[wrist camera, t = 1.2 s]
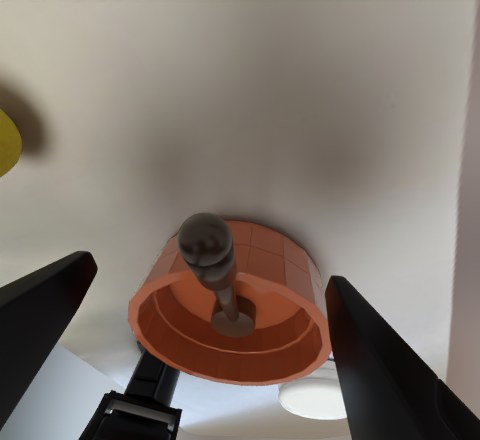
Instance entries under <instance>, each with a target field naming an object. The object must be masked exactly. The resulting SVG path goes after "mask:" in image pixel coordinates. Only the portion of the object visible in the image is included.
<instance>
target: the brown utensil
mask: <svg viewBox="0 0 480 440" xmlns="http://www.w3.org/2000/svg"><path fill="white" fill-rule="evenodd" d="M177 245H178V249H179V252H180V254H181V255H182V257H183V258H184V260H185V261H186V263H187V264H188V266H189V267H190V269H191V270H192V272H193V273H194V275H195V276H196V278H197V279H198V281H199V282H200V284H201V285H202V286H203V287H204V288H206V289H208V290H210V291H213V293H214V295H215V297H216V298H217V300H216V302H215V304H214V308H213V312H212V316H211V320H210V322H211V325H212V327H213V328H214V329H215V330H216V331H217V332H219V333H220V334H223V335H225V336H229V337H245V336H248V335H250V334H252V333H253V332H254V330H255V327H256V307H255V305H254V304H253V303H252V302H251V301H250V300H248V299H247V298H244V297H242V296H237V295H235V290H234V285H233V282H234V280H235V278H236V273H237V267H236V260H235V252H234V245H233V237H232V232H231V230H230V227H229V225H228V224H227V223H226V222H225V221H224V220H223V219H222V218H221V217H219V216H218V215H215V214H212V213H198V214H195V215H193V216H191V217H189V218H188V219H187V220H186V221H185V222H184V223H183V224H182V226H181V227H180V229H179V232H178V236H177Z"/></svg>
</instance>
